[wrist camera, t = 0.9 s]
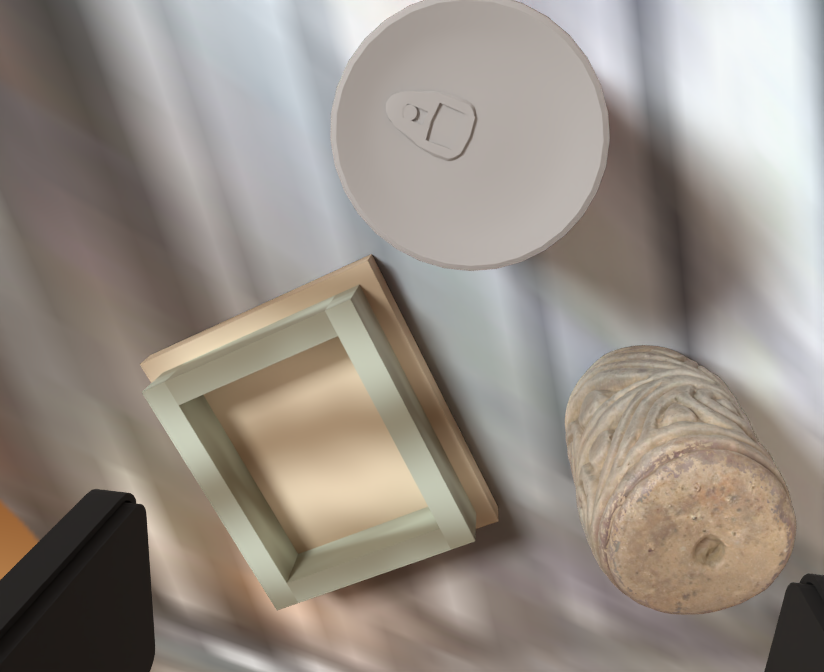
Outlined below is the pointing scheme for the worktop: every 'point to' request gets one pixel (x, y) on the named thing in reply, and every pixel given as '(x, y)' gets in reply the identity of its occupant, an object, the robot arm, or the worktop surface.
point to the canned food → (470, 132)
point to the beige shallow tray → (321, 437)
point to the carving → (675, 484)
